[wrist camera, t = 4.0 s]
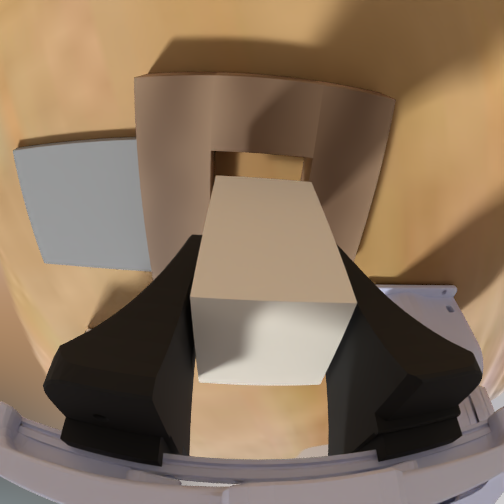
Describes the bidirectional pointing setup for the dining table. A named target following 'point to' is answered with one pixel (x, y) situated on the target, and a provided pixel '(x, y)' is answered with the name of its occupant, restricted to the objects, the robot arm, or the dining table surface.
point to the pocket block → (253, 146)
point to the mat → (85, 202)
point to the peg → (267, 285)
